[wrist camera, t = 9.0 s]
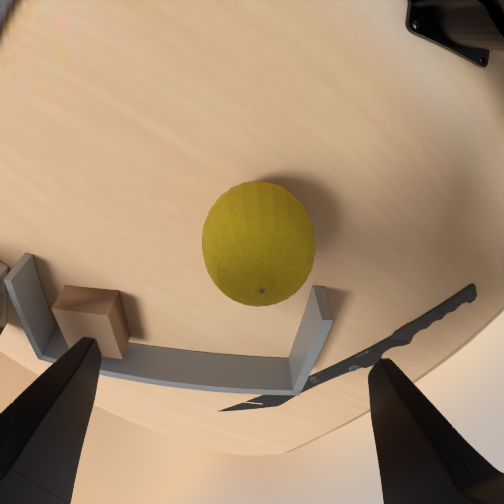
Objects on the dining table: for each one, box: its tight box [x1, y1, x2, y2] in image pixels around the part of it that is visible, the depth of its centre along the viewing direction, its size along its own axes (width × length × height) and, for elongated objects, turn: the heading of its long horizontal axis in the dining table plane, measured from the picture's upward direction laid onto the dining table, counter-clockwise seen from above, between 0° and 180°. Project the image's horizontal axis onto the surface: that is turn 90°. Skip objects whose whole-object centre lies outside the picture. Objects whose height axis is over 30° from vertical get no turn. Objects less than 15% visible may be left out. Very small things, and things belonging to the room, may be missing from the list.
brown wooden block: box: [52, 285, 130, 359], centre depth 23 cm, size 5×5×3 cm
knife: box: [220, 284, 477, 411], centre depth 29 cm, size 32×4×1 cm, turn 126°
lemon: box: [202, 181, 315, 306], centre depth 16 cm, size 6×6×8 cm
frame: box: [4, 253, 334, 395], centre depth 23 cm, size 24×9×4 cm, turn 82°
